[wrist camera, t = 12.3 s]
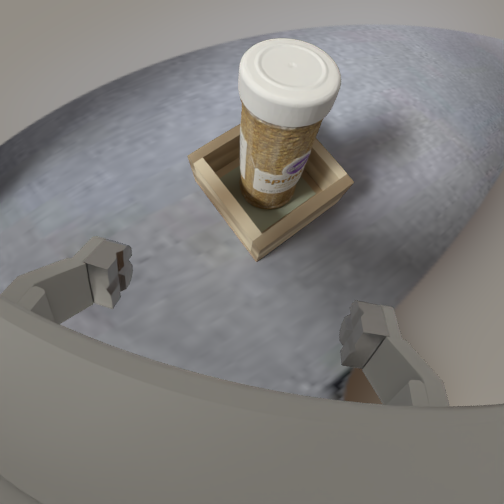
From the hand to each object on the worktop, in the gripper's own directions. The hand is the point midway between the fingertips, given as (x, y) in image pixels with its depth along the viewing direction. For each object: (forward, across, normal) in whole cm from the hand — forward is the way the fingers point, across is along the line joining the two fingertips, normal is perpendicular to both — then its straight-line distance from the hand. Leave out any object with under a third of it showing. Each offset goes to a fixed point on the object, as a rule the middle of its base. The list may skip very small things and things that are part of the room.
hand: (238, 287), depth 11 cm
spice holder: (+16, 0, +3) cm, 16 cm away
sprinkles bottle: (+15, 0, +2) cm, 16 cm away
